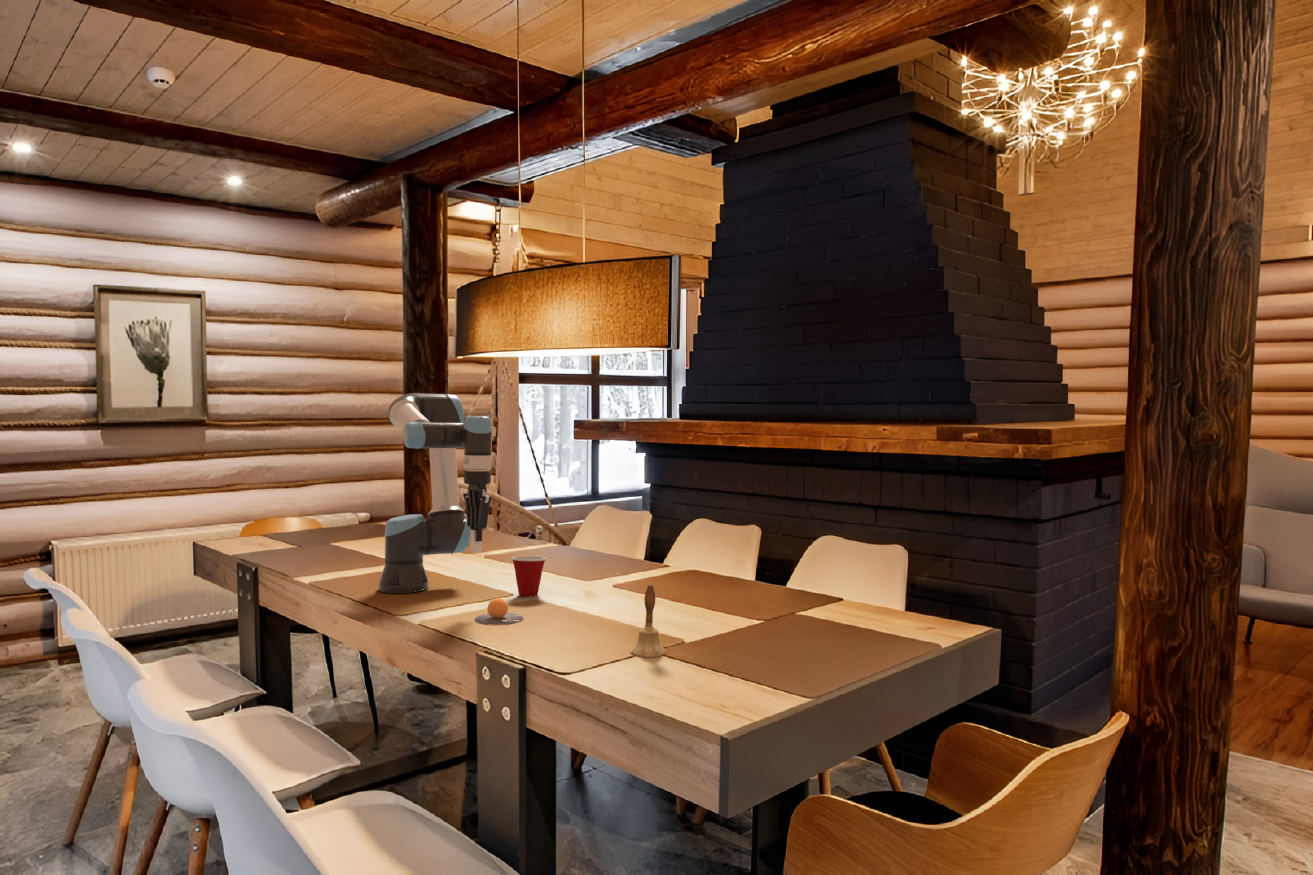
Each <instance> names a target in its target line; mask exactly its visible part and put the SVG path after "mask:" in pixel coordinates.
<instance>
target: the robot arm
mask: <svg viewBox="0 0 1313 875" xmlns="http://www.w3.org/2000/svg"><path fill="white" fill-rule="evenodd" d="M387 416H388V419H389V421H390V423H391V424H392V425H393V426H394V427H395V428H397V429H400V430H402V431H403V432H402V434H403V435H402V436H403V437H402V438H403V442H404V446H405V447H406V448H408V449H418V450H419V449H429V450H428V451H429V463H430V464H429V467H430V469H429V470H430V485H431V487H430V488H431V502H432V505H431V507H432V509H431V510H430V511H429V512H428V513H427V516H428V518H425V517H424V515H423V514H421V513H420V514H418V513H416V514H405V515H400V516H396V517H392V518H389V519H387V521H386V522H385V528H384V533H383V534H384V567H383V570H382V573H381V576H380V579H379V582H378V591H379V590H380V591H382V592H381V593H384V592H386V593H385V594H393V593H403V594H410V593H409V592H415V591H419V590H422V589H426V590H428V589H429V579H428V576H427V573H426V569H425V566H424V556H431V555H446V554H451V555H454V554H459V553H464V552H465V551H466V550H467V549H468V547H469V545H470V553H472V554H476V553H479V554H480V553H483V530H484V529H487V527H488V519H489V514H490V513H489V510H490V504H491V501H492V496H491V495H488V494H487V492H488V489H487V485H489V484H491V482H492V481H491V480H492V479H491V478H492V474H491V471H490V470H491V468H492V430H493V428H492V419H491V417H489V416H483V415H482V416H481V415H480V416H473V415H472V416H470V415H468V416H465V412H464V407H463V403H462V400H461V399H460V398H459V397H458V396H457V395H455V394H447V393H420V392H419V393H418V392H412V393H411V392H410V393H406V394H402V395H401V396H398V397H397V398H395V399H394V400H393V401H392V402H391V403H390V405H389V407H388V410H387ZM456 449H464V452H463V453H464V454H463V455H464V458H463V460H462V461H463V462H464V465H463V468H464V469H465V471H464V472H463V483H464V484H465V485H468V487H467V492H463V495H462V496H463V499H464V506H465V510H464V509H463V508H462V507H461V506H460V495H459V480H458V479H459V478H458V464H457V450H456ZM427 588H428V589H427ZM380 591H379V592H380ZM415 593H416V592H415Z"/></svg>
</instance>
